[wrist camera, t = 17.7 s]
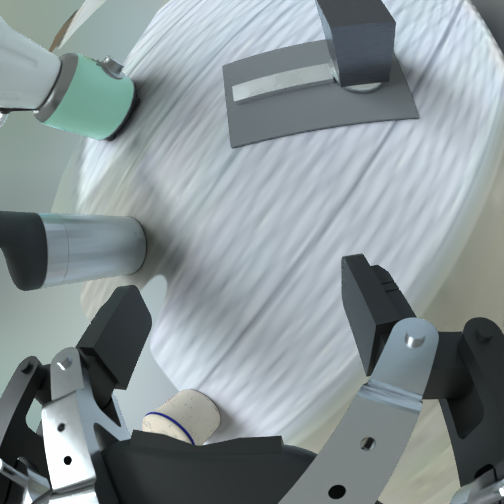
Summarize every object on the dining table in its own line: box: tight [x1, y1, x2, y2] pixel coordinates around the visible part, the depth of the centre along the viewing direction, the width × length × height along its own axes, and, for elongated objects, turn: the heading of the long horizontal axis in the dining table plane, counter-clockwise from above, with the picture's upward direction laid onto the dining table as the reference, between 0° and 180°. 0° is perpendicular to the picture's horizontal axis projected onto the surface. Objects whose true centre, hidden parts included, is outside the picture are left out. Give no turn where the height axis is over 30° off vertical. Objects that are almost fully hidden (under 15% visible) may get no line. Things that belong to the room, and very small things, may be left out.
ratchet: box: [232, 59, 384, 105], centre depth 26 cm, size 20×7×6 cm, turn 97°
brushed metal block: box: [315, 0, 396, 87], centre depth 20 cm, size 6×6×11 cm
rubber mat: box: [223, 40, 419, 148], centre depth 29 cm, size 24×14×1 cm, turn 97°
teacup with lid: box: [142, 390, 220, 446], centre depth 33 cm, size 12×9×12 cm
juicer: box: [0, 15, 140, 141], centre depth 25 cm, size 19×13×35 cm
